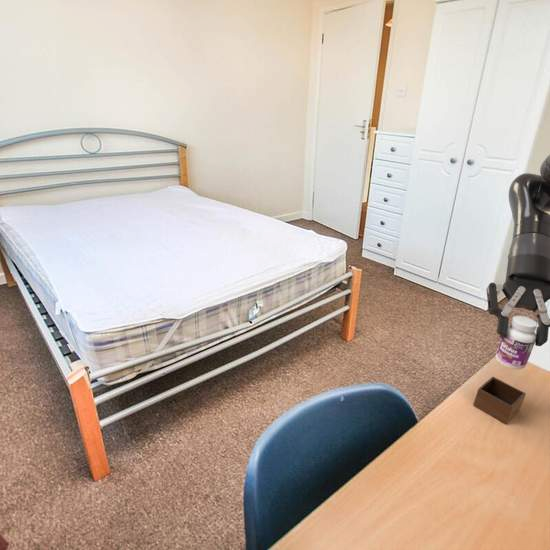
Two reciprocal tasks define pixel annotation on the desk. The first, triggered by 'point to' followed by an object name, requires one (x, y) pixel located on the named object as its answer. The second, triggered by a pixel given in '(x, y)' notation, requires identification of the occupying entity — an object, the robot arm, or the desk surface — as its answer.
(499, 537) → the desk surface
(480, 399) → the dark brown open bin
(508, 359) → the pill bottle
